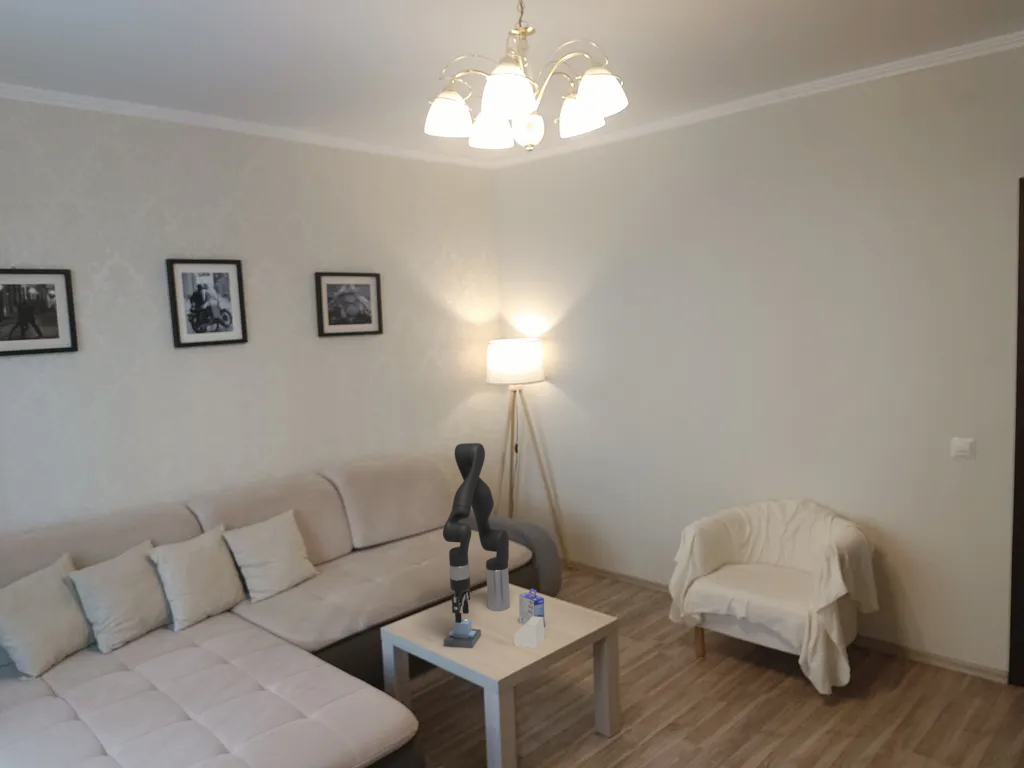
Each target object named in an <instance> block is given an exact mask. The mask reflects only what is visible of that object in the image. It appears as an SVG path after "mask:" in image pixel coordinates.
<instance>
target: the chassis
mask: <svg viewBox="0 0 1024 768" xmlns="http://www.w3.org/2000/svg"><path fill="white" fill-rule="evenodd" d="M451 630H453V628H452V629H451ZM472 631H476V634H475V636H474V637H470V638H458V637H453V636H449V633H448V634H447V635H446V637H444V639H443V646H444V647H450V648H462V649H464V648H465V649H473V648H474V647H475V646H476V644H477V642H479V639H480V638H481V636H482V629H478V628H476V629H475V628H472Z"/></svg>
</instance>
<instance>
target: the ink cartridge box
mask: <svg viewBox="0 0 1024 768" xmlns="http://www.w3.org/2000/svg"><path fill="white" fill-rule="evenodd" d="M533 592H534V593H533ZM518 605H519V606H518V607H519V613H518V614H519V624H520V625H521V626H523V625H524V624H525V623H526V622H527V621H529V619H530V618H531V617H532V616H536V617H543V622H544V628H545V626H546V624H545V598H544V597H542V596H541V595H540V596H539V595H537V589H534V588H532V587H531V588H530V590H529V592H524V593H520V594H519V595H518Z"/></svg>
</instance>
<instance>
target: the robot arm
mask: <svg viewBox="0 0 1024 768" xmlns="http://www.w3.org/2000/svg"><path fill="white" fill-rule="evenodd" d="M485 457H486V450H485V448H484V445H483V444H481V443H478V442H472V443H469V442H468V443H465V442H464V443H459V444H457V445H455V447H454V460H455V462H456V466H457V467H458V470H459V473H460V475H461V477H462V480H463V482H462V483H461V484H460V485H459V486H458V488H457V490H456V492H455V494H454V497H453V501H452V507H451V510H450V514H449V515H448V518H447V520H446V522H445V524H444V526H443V529H442V537H443V539H444V541H446V542H448V543H460V545H459V546H455V547H452V548H451V549H450V550H449V551H448V558H449V559H448V560H449V569H448V570H449V584H450V586H449V587H450V590H451V591H454V596H451V609H452V610H451V613H452V614H454V617H455V618H454V621H456V623H461V622H462V614H465V615H467V614H469V612H470V609H469V604H470V600H471V590H470V589H471V574H470V573H471V571H470V565H469V564H470V563H469V548H470V543H471V542H470V541H471V538H472V528H471V526H470V525H469V523H462V522H460V521H461V520H465V519H468V518H469V517H470V515H471V511H472V512H473V515H474V519H475V522H476V527H477V532H478V536H479V537H478V538H479V541H480V544H481V548H482V549H483V550H484V551H487V552H494V553H496V555H495V556H493V557H491V558H488V559H487V560H486V562H485V569H486V571H485V572H486V573H485V574H486V589H487V590H486V592H487V608H488V610H490V611H492V612H504V611H507V610H508V609H510V608H511V601H510V600H511V597H510V581H509V579H510V578H509V557H510V556H509V555H510V551H509V550H510V549H509V546H510V544H509V541H510V540H509V539H510V537H509V533H508V531H506V530H505V529H499V528H491V526H490V522H489V521H490V520H489V519H490V516H491V514H492V511H493V509H494V502H495V501H494V498H493V495H492V490H491V489H490V487H489V485H488V484H487V483H486V482H485V481H484V480H483V479H482V478H481V477H480V475H481V472H482V470H483V466H484V463H485Z"/></svg>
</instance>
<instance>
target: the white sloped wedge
mask: <svg viewBox="0 0 1024 768" xmlns="http://www.w3.org/2000/svg"><path fill="white" fill-rule="evenodd" d="M544 622H545V621H544ZM544 622H543V617H536V616H532V617H531V618H530V619H529V621H527V622H526V623H525V624H524V625H521V627H520V628H519V629H518V630H517V631H516V632H515V633H514V634H513V637H514V639H513V640H514V646H517V647H525V648H530V649H531V648H532V649H537V648H538V646H540V644H541V643H542V642H543V641H544V640H545V627H544Z"/></svg>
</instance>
